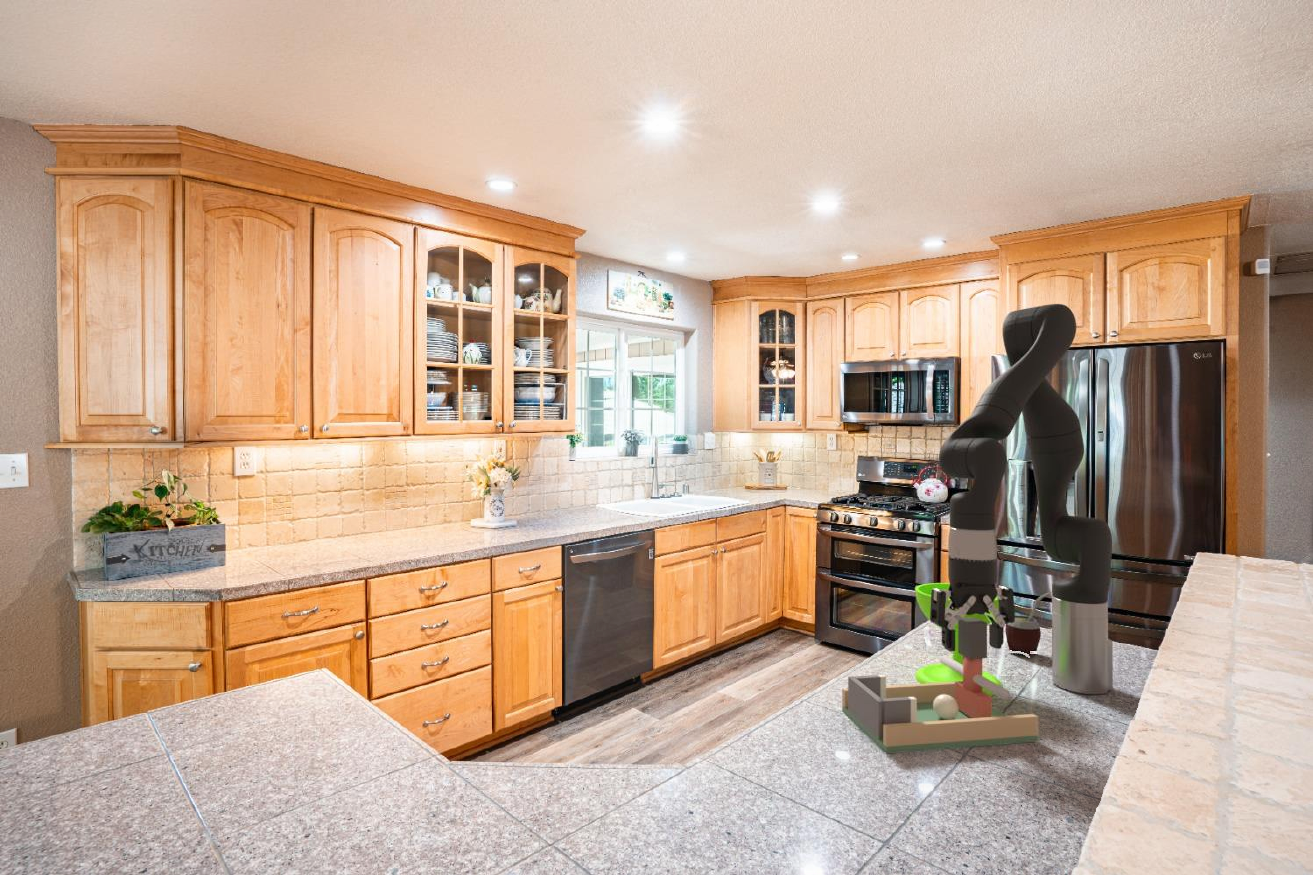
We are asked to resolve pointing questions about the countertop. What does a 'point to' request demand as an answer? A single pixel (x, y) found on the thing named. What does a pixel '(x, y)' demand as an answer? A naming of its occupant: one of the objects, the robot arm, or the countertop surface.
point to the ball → (945, 707)
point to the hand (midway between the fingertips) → (972, 648)
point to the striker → (973, 670)
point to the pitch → (925, 718)
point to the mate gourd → (1024, 632)
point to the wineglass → (941, 671)
